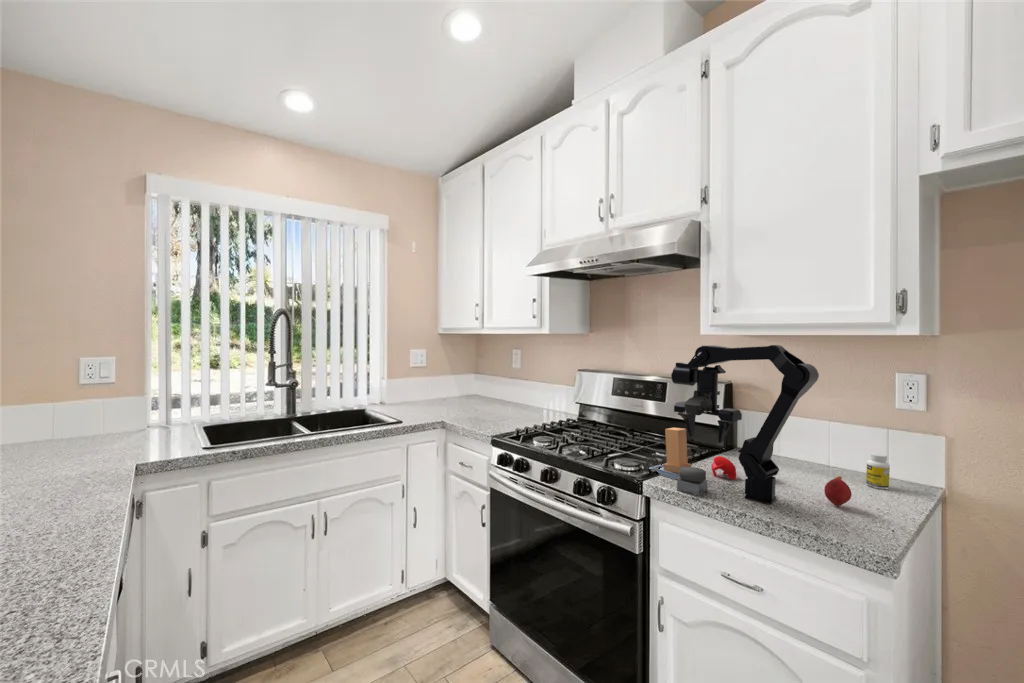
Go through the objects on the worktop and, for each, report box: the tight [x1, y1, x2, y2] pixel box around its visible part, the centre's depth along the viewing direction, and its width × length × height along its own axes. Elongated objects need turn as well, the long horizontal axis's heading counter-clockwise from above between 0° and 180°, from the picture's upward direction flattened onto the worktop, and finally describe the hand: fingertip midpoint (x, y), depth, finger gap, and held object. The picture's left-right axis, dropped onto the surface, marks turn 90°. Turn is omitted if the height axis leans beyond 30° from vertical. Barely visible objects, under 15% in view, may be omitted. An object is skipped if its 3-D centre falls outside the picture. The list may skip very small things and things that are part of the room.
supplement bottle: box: [865, 452, 891, 489], centre depth 139 cm, size 5×5×10 cm
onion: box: [823, 475, 852, 507], centre depth 123 cm, size 6×6×8 cm
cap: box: [711, 455, 737, 481], centre depth 146 cm, size 8×6×6 cm
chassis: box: [648, 463, 681, 480], centre depth 149 cm, size 12×10×2 cm
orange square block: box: [663, 427, 692, 473], centre depth 148 cm, size 6×6×13 cm
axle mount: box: [676, 478, 709, 496], centre depth 133 cm, size 6×6×3 cm
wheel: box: [679, 466, 707, 482], centre depth 133 cm, size 7×7×5 cm
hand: (705, 439), depth 139 cm, fingers open, 9 cm apart
